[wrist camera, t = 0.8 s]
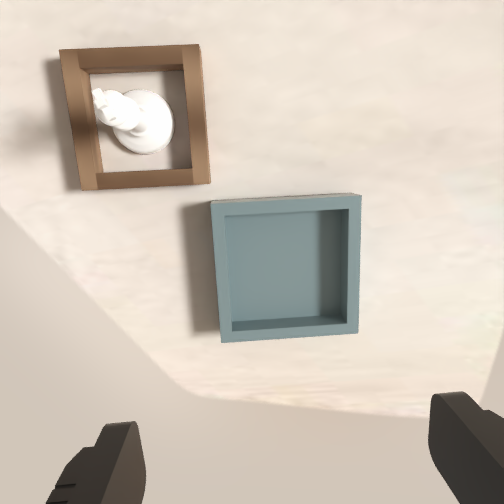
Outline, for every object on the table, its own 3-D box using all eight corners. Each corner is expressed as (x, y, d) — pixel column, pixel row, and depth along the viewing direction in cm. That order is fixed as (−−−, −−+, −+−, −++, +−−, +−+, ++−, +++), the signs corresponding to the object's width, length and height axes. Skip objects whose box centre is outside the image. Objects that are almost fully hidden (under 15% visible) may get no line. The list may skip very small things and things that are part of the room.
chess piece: (133, 165, 30) (85, 166, 20) (100, 108, 29) (32, 79, 19) (186, 137, 29) (162, 124, 20) (154, 78, 28) (113, 33, 19)
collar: (69, 56, 28) (58, 49, 26) (200, 51, 28) (198, 44, 26) (90, 189, 30) (81, 190, 28) (210, 182, 30) (209, 183, 29)
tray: (212, 200, 31) (210, 203, 28) (351, 192, 31) (361, 195, 29) (222, 329, 34) (221, 342, 31) (349, 320, 34) (358, 333, 32)
